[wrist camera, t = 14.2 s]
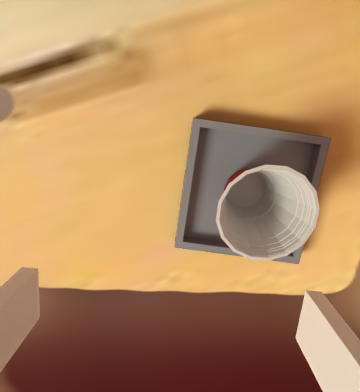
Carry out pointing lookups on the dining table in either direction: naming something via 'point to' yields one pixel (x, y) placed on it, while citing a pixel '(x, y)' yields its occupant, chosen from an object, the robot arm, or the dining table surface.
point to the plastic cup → (267, 212)
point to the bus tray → (229, 164)
